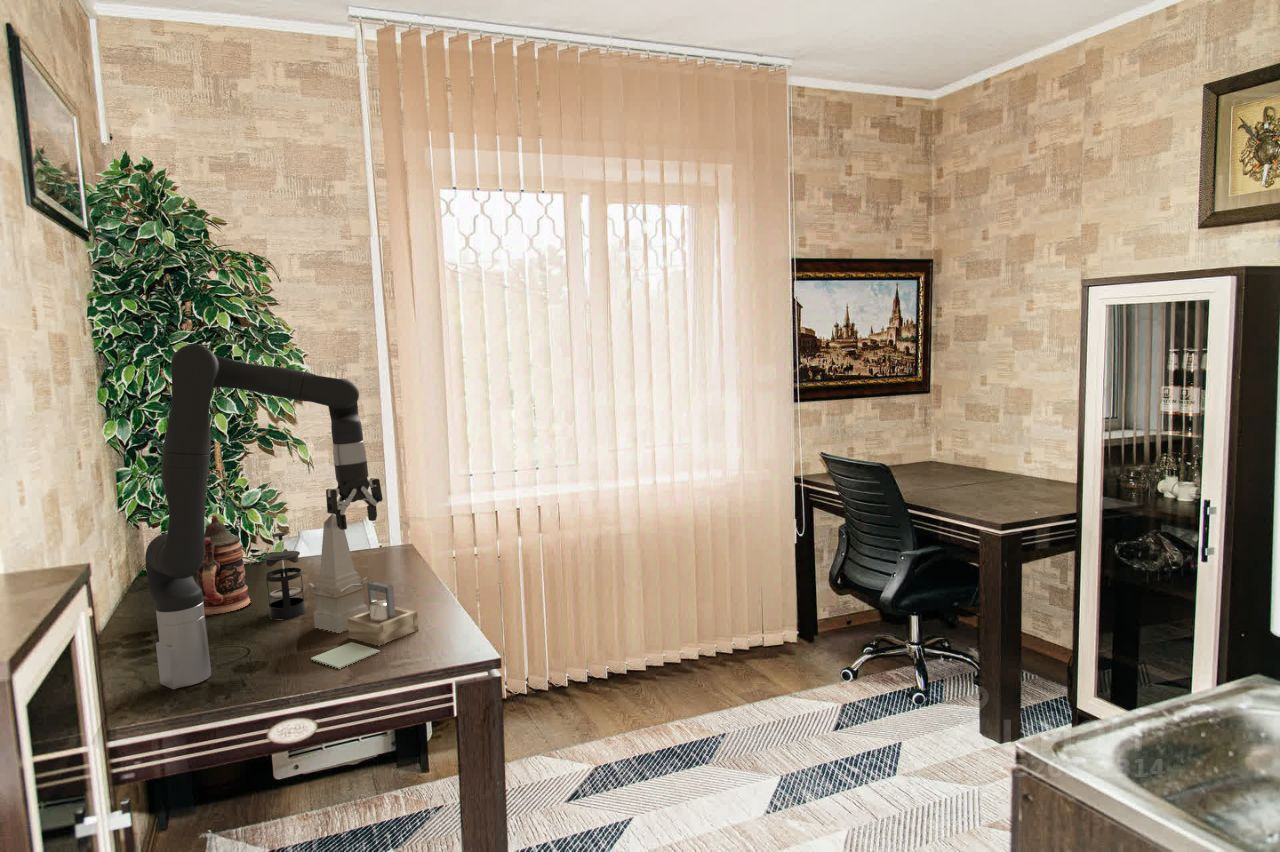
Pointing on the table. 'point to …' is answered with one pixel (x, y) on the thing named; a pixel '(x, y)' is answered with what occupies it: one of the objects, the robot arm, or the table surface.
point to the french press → (284, 585)
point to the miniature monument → (337, 582)
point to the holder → (382, 627)
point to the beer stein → (222, 571)
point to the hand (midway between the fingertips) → (357, 524)
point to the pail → (381, 602)
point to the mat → (345, 655)
